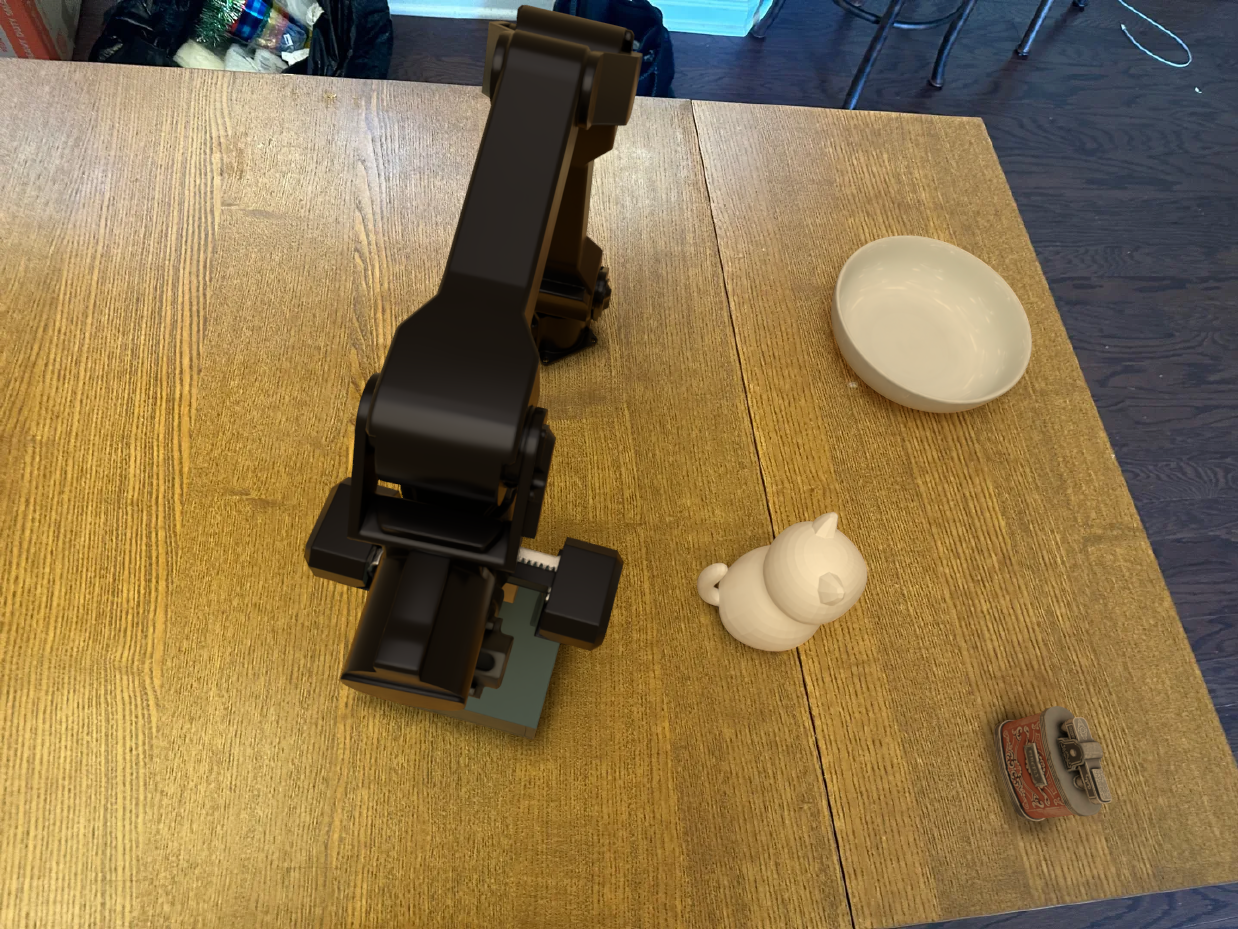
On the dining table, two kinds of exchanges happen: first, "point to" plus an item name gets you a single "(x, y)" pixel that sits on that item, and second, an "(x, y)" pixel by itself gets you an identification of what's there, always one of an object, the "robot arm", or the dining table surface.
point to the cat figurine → (787, 585)
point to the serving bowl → (929, 324)
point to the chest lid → (519, 664)
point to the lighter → (1051, 765)
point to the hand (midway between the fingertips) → (472, 602)
